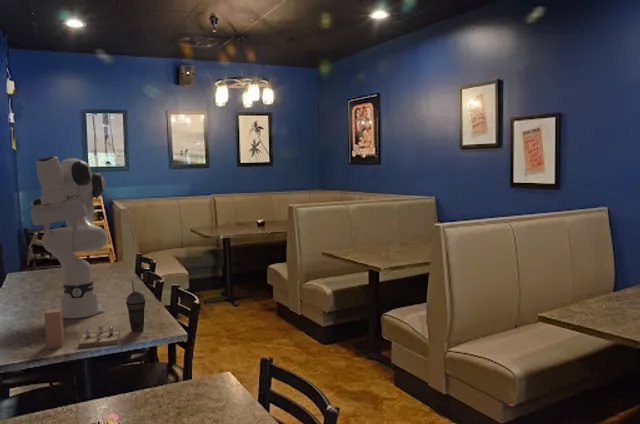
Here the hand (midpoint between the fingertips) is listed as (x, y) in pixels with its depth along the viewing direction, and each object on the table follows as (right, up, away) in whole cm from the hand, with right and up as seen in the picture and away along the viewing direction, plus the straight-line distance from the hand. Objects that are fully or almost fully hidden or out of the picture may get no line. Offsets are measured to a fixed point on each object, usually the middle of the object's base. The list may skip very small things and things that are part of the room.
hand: (64, 232), depth 205 cm
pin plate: (+18, -40, -9) cm, 45 cm away
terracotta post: (+3, -41, -13) cm, 43 cm away
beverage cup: (+28, -39, +2) cm, 48 cm away
